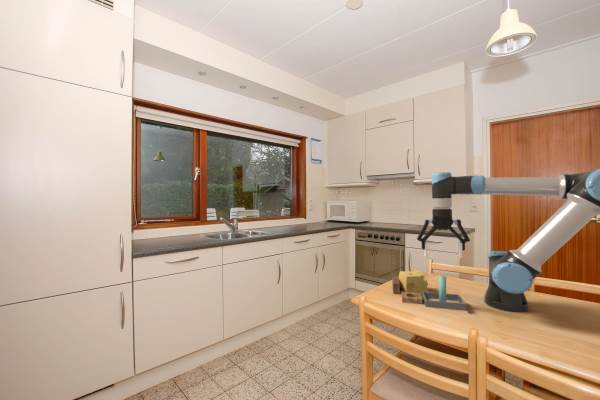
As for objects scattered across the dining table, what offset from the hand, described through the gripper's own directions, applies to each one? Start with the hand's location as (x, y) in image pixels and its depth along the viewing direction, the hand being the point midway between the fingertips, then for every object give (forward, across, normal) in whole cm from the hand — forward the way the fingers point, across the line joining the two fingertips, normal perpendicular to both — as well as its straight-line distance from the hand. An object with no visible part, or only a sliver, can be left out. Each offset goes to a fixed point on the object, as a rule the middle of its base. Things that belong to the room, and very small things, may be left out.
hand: (442, 257), depth 118 cm
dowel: (+20, +1, 0) cm, 20 cm away
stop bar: (+21, +19, -13) cm, 31 cm away
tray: (+21, +1, 0) cm, 21 cm away
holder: (+21, +13, -1) cm, 25 cm away
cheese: (+21, +11, -13) cm, 27 cm away
